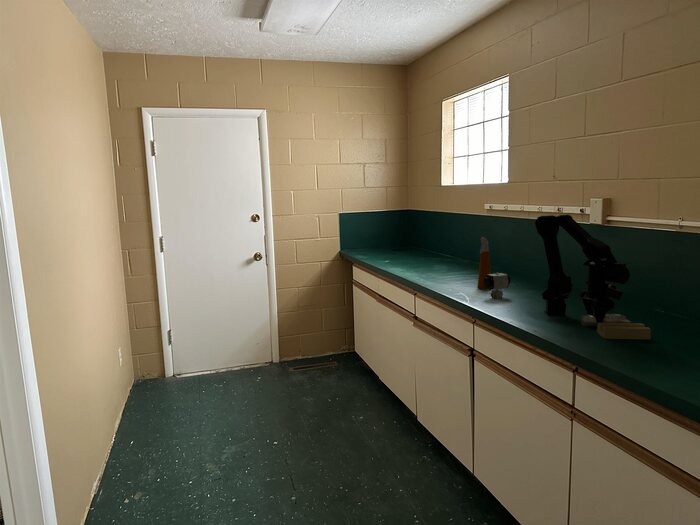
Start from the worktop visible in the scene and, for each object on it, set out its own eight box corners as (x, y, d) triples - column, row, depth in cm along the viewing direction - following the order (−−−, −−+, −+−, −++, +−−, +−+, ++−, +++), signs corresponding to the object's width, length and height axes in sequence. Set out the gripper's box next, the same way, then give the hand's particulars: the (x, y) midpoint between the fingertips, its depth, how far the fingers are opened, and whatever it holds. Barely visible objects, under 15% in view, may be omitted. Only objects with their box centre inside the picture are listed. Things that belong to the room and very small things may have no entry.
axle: (584, 327, 172) (584, 317, 171) (580, 324, 176) (581, 313, 175) (626, 328, 169) (627, 317, 169) (621, 324, 173) (622, 314, 172)
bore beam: (605, 329, 168) (606, 321, 167) (595, 321, 177) (596, 313, 177) (630, 330, 166) (630, 321, 166) (619, 322, 176) (619, 314, 176)
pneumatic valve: (482, 298, 220) (483, 272, 218) (503, 295, 224) (504, 270, 222) (490, 300, 215) (490, 274, 213) (511, 298, 219) (512, 272, 217)
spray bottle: (472, 290, 237) (473, 237, 233) (479, 286, 246) (480, 235, 242) (486, 291, 233) (487, 237, 229) (493, 287, 242) (494, 235, 238)
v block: (604, 338, 158) (604, 328, 158) (596, 332, 165) (597, 322, 164) (650, 339, 156) (651, 329, 155) (641, 333, 163) (641, 323, 162)
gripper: (632, 284, 160) (629, 329, 162) (611, 274, 178) (609, 315, 181) (596, 284, 162) (594, 329, 164) (579, 274, 180) (577, 315, 182)
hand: (594, 321), depth 173 cm, fingers open, 9 cm apart
